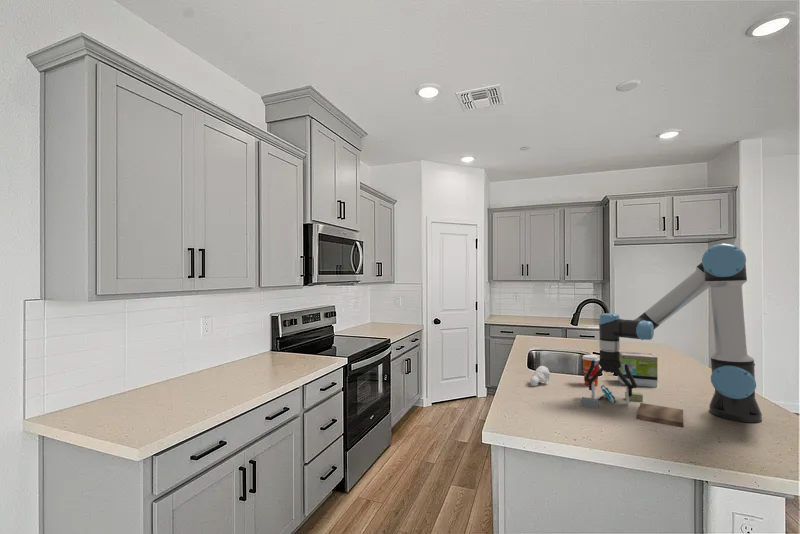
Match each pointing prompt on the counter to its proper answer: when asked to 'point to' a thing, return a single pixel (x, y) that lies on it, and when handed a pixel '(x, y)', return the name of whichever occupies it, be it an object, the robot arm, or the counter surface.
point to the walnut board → (660, 414)
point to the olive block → (635, 397)
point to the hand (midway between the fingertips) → (610, 401)
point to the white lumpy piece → (540, 376)
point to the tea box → (640, 368)
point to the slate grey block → (589, 402)
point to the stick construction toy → (606, 394)
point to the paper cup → (587, 365)
